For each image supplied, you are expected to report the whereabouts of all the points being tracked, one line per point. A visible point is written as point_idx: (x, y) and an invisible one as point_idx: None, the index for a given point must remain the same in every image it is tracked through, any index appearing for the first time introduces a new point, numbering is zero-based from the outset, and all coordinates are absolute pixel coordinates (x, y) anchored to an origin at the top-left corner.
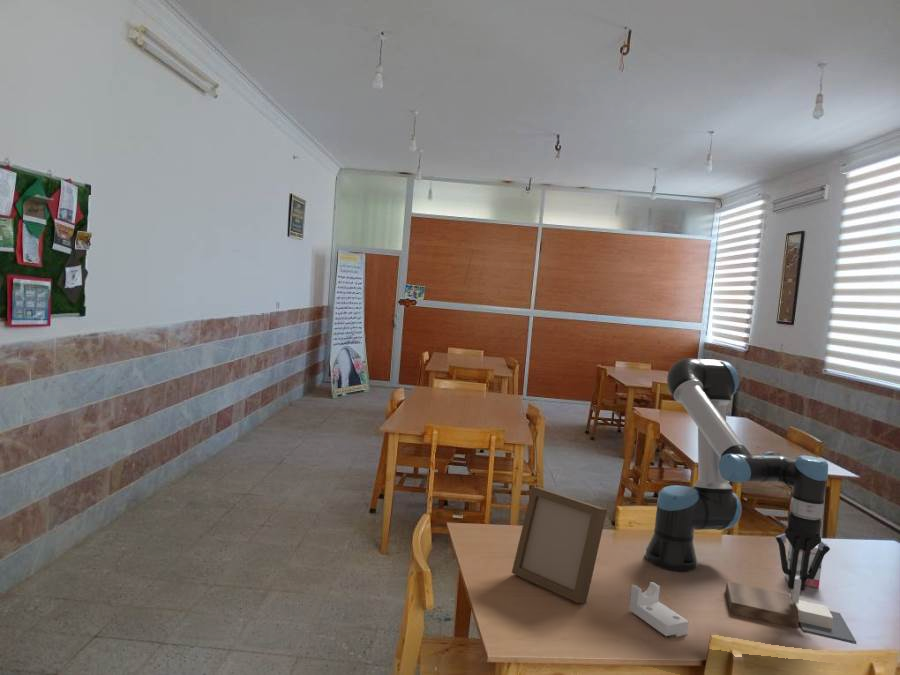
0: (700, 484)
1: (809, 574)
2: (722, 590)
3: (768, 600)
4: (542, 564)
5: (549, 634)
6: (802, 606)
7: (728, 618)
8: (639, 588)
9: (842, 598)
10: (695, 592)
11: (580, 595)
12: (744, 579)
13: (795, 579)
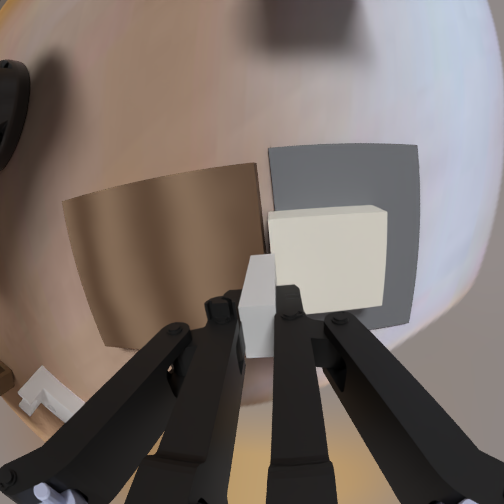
0: None
1: (326, 366)
2: (76, 196)
3: (180, 280)
4: None
5: (44, 428)
6: (294, 275)
7: (124, 355)
8: (27, 413)
9: (419, 25)
10: (44, 259)
11: (9, 388)
12: (128, 54)
13: (248, 356)
